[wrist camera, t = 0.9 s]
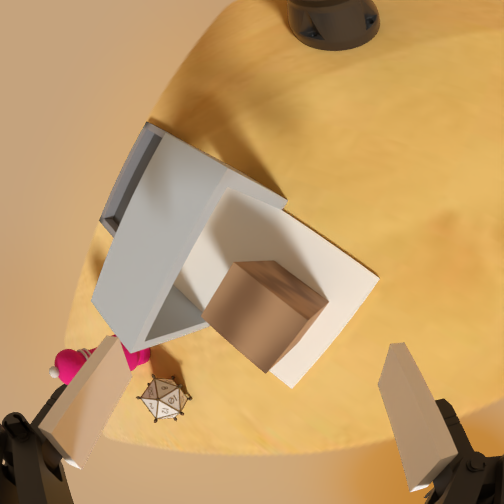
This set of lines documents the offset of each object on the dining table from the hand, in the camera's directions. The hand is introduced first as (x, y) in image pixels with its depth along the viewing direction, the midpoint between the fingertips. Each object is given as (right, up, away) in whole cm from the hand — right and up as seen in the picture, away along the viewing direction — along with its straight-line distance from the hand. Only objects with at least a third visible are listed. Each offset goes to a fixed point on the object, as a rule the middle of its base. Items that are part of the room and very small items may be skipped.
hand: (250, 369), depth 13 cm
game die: (-13, -19, +33) cm, 40 cm away
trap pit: (-20, +18, +37) cm, 45 cm away
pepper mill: (-21, -13, +37) cm, 45 cm away
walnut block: (+5, -1, +25) cm, 25 cm away
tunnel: (+1, +2, +27) cm, 27 cm away
